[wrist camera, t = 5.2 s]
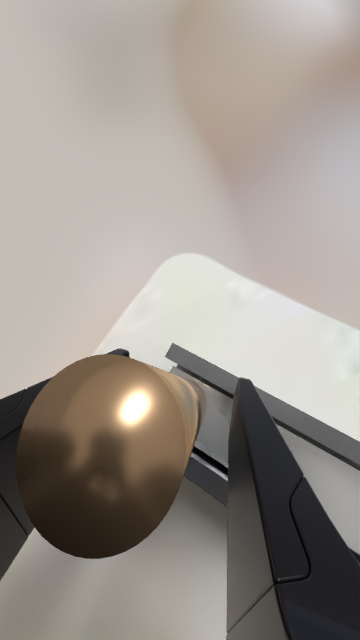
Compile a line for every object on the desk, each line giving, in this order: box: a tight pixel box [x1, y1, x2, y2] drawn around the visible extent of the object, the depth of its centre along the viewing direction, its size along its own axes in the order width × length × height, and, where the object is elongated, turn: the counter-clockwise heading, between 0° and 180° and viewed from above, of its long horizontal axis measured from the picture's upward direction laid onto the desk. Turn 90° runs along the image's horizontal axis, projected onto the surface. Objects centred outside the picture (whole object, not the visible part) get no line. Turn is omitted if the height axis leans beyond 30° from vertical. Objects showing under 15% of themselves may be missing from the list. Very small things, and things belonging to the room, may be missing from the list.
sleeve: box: [165, 343, 360, 564], centre depth 11 cm, size 14×5×5 cm, turn 61°
